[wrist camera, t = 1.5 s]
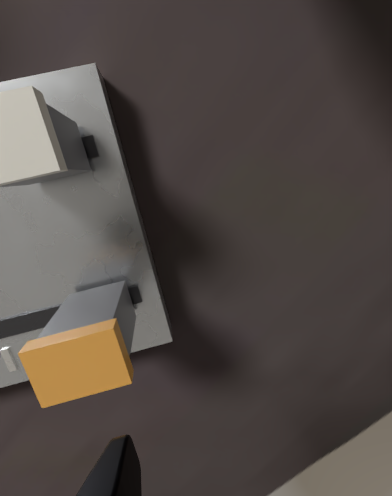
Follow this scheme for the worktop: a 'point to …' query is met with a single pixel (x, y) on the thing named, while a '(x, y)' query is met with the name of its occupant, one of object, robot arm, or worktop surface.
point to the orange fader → (83, 346)
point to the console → (74, 228)
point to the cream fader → (37, 140)
